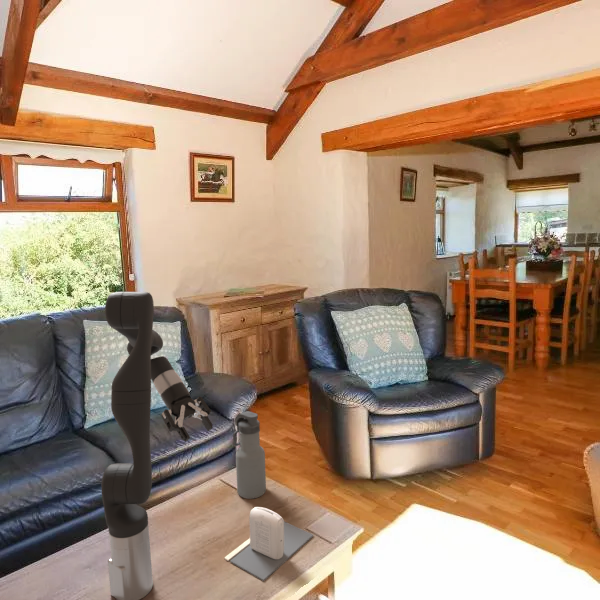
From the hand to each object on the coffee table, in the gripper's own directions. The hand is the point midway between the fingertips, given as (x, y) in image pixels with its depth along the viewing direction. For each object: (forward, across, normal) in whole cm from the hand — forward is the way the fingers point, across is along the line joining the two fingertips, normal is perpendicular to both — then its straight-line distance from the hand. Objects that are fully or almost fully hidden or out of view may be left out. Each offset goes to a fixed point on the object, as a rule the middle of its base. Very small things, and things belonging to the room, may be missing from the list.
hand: (199, 434), depth 138 cm
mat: (+36, +6, +7) cm, 37 cm away
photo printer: (+37, +4, +6) cm, 37 cm away
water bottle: (+20, +24, +24) cm, 39 cm away
